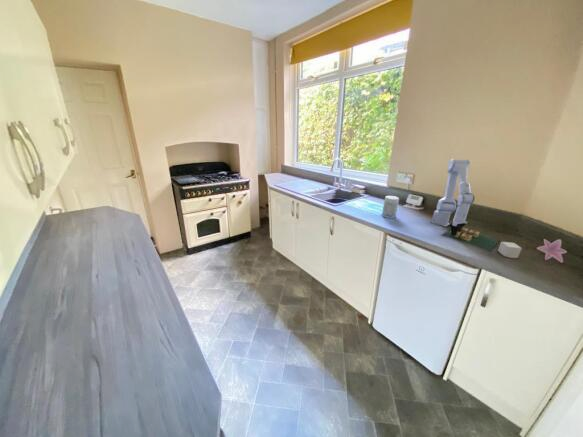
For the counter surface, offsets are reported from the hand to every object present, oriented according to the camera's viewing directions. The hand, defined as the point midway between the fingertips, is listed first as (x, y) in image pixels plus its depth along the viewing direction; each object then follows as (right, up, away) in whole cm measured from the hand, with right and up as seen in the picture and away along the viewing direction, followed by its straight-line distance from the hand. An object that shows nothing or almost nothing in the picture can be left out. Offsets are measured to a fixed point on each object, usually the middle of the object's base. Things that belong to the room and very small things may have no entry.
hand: (455, 233), depth 145 cm
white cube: (+14, -10, -20) cm, 26 cm away
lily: (+34, -11, -22) cm, 42 cm away
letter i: (+8, +1, +6) cm, 10 cm away
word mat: (+7, -3, -2) cm, 8 cm away
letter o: (+4, -3, -4) cm, 6 cm away
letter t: (+12, -1, +1) cm, 12 cm away
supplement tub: (-28, +11, +30) cm, 43 cm away
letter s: (0, -1, 0) cm, 1 cm away
